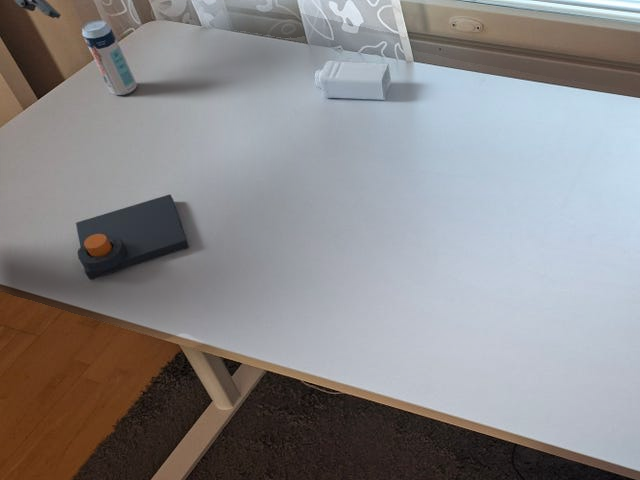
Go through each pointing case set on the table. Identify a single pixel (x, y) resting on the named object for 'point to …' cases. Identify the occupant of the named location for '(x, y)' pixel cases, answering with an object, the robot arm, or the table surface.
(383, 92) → the white bottle
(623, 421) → the table surface
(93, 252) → the button
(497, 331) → the table surface
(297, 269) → the table surface
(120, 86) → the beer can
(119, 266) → the scale
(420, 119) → the table surface
